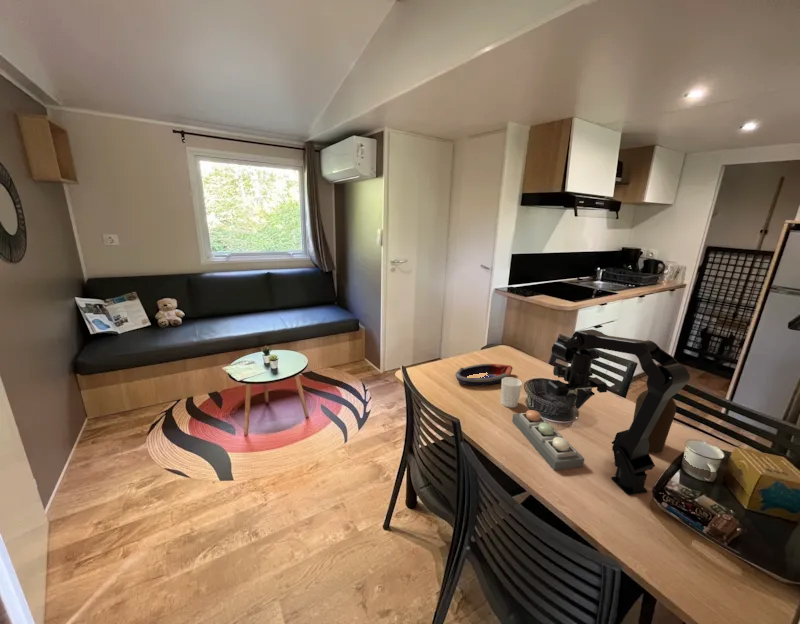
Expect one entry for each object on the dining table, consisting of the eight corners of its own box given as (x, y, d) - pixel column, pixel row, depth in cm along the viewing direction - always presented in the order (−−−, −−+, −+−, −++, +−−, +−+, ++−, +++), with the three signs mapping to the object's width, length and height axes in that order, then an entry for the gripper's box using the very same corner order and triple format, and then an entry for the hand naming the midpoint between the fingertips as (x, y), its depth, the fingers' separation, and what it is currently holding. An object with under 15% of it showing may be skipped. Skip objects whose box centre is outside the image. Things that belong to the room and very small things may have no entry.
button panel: (582, 466, 106) (585, 455, 105) (553, 470, 104) (555, 458, 103) (536, 418, 130) (537, 408, 129) (512, 421, 129) (513, 411, 127)
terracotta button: (542, 420, 122) (543, 416, 121) (530, 422, 121) (531, 418, 120) (535, 413, 126) (535, 409, 126) (523, 414, 125) (523, 410, 125)
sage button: (556, 434, 114) (557, 430, 114) (543, 436, 113) (544, 431, 113) (548, 426, 119) (548, 422, 118) (535, 427, 118) (536, 423, 117)
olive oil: (647, 457, 111) (665, 388, 104) (619, 437, 120) (634, 373, 113) (672, 452, 113) (692, 384, 106) (643, 433, 123) (659, 370, 116)
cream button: (572, 450, 107) (572, 446, 106) (558, 452, 106) (559, 447, 105) (562, 440, 111) (563, 436, 111) (549, 442, 110) (549, 437, 110)
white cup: (499, 406, 138) (502, 384, 135) (498, 397, 145) (501, 376, 143) (519, 409, 136) (522, 387, 134) (518, 399, 144) (521, 378, 141)
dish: (448, 376, 164) (448, 366, 162) (502, 368, 173) (503, 359, 172) (464, 392, 150) (464, 381, 148) (522, 382, 159) (523, 372, 158)
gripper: (588, 355, 120) (581, 394, 125) (540, 358, 117) (534, 398, 121) (612, 369, 110) (603, 411, 114) (560, 372, 107) (553, 416, 111)
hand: (573, 408), depth 116 cm, fingers open, 3 cm apart
